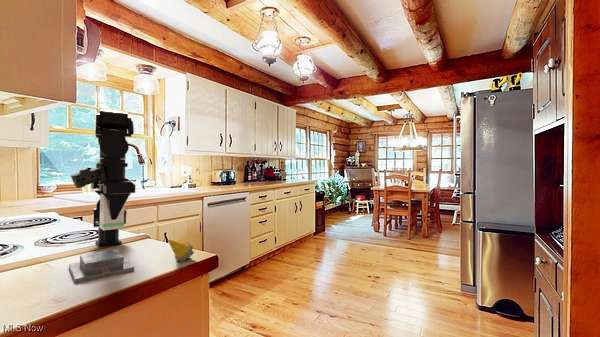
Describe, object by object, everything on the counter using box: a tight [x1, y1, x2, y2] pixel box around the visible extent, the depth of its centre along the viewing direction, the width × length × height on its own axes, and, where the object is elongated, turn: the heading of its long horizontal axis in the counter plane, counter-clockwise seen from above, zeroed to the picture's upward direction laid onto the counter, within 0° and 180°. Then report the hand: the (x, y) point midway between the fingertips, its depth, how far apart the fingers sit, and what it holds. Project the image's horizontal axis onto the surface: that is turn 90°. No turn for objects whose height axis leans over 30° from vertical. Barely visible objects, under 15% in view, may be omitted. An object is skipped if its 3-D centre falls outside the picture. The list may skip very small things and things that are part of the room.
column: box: [99, 193, 125, 230], centre depth 76 cm, size 5×5×9 cm
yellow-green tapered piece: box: [167, 239, 195, 262], centre depth 82 cm, size 5×5×10 cm
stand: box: [68, 248, 135, 284], centre depth 74 cm, size 12×12×4 cm
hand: (111, 218), depth 76 cm, fingers closed on column, 4 cm apart
